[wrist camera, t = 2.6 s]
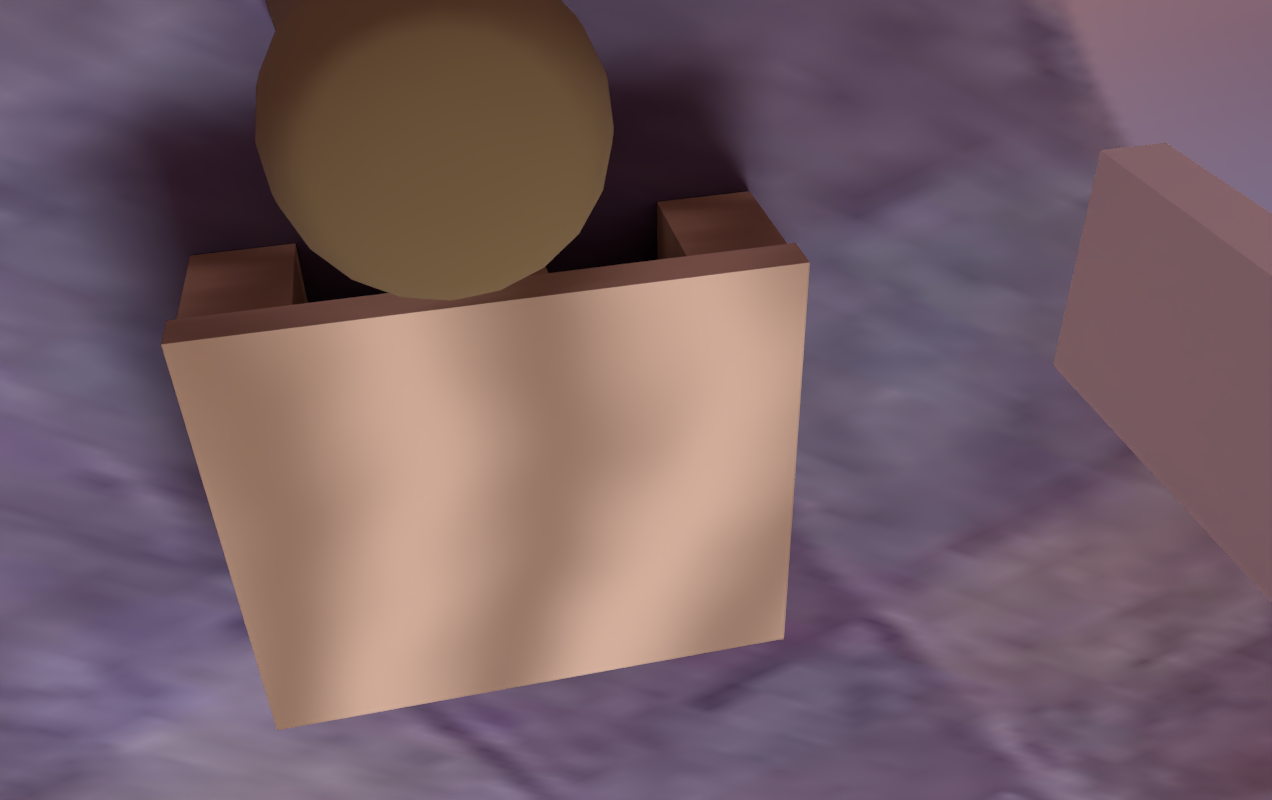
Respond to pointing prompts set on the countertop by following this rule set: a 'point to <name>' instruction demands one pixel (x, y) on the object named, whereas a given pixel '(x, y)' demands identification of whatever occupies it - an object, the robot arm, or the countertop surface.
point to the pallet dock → (499, 464)
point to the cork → (433, 137)
